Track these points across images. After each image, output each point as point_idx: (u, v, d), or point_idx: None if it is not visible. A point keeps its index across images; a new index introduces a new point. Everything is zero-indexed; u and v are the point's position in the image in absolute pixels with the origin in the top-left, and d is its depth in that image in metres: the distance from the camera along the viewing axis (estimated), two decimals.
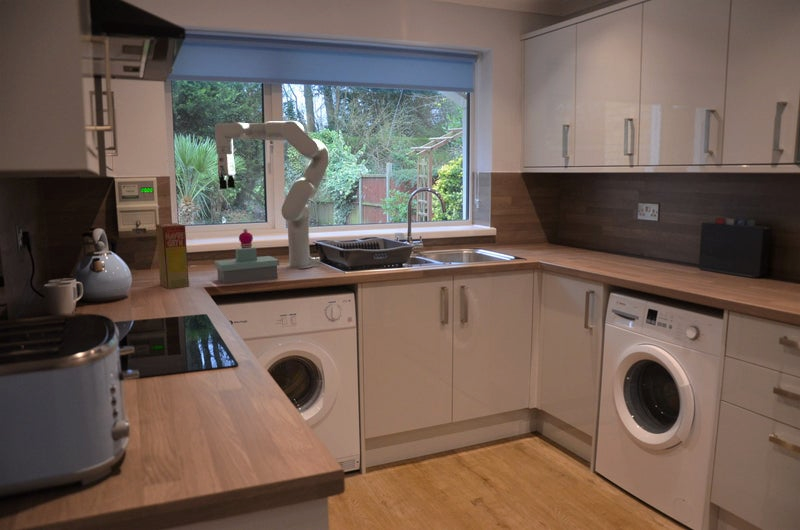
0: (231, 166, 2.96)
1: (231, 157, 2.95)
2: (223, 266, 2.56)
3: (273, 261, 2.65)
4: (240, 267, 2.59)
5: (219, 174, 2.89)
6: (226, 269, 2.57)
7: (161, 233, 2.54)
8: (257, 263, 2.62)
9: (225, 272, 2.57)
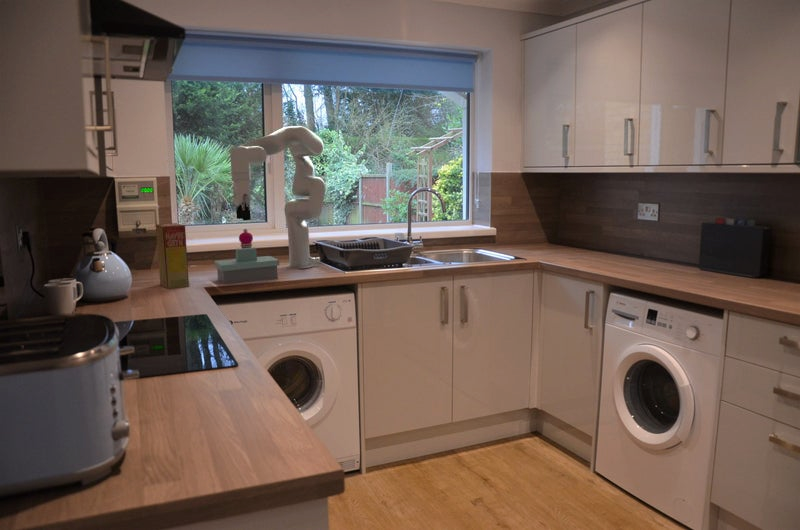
0: (235, 194, 2.61)
1: (234, 185, 2.60)
2: (223, 266, 2.56)
3: (273, 261, 2.65)
4: (240, 267, 2.59)
5: None
6: (226, 269, 2.57)
7: (161, 233, 2.54)
8: (257, 263, 2.62)
9: (225, 272, 2.57)
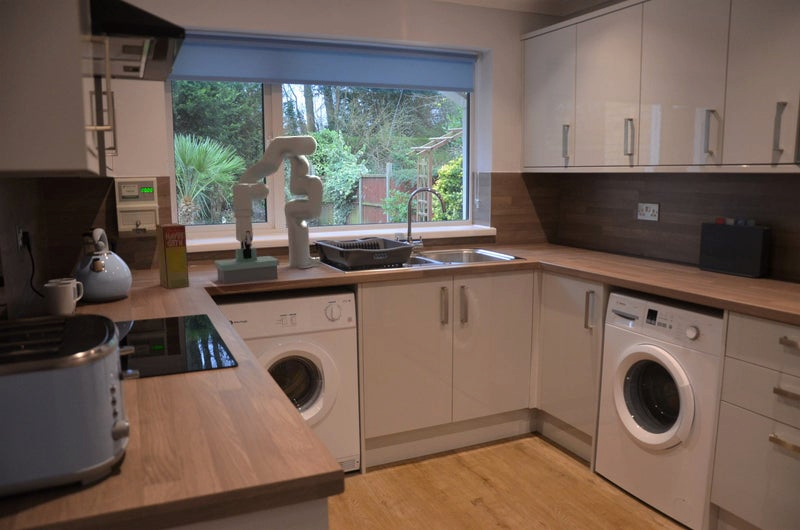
0: (237, 231, 2.64)
1: (237, 221, 2.63)
2: (223, 266, 2.56)
3: (273, 261, 2.65)
4: (240, 267, 2.59)
5: None
6: (226, 269, 2.57)
7: (161, 233, 2.54)
8: (257, 263, 2.62)
9: (225, 272, 2.57)
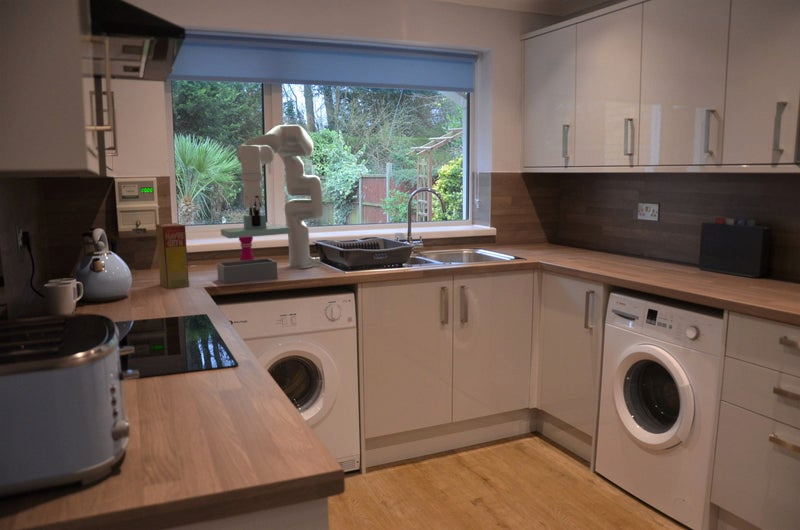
0: (245, 196, 2.46)
1: (245, 186, 2.45)
2: (230, 233, 2.38)
3: (284, 229, 2.48)
4: (249, 235, 2.42)
5: None
6: (233, 236, 2.39)
7: (161, 233, 2.54)
8: (267, 230, 2.45)
9: (225, 272, 2.57)
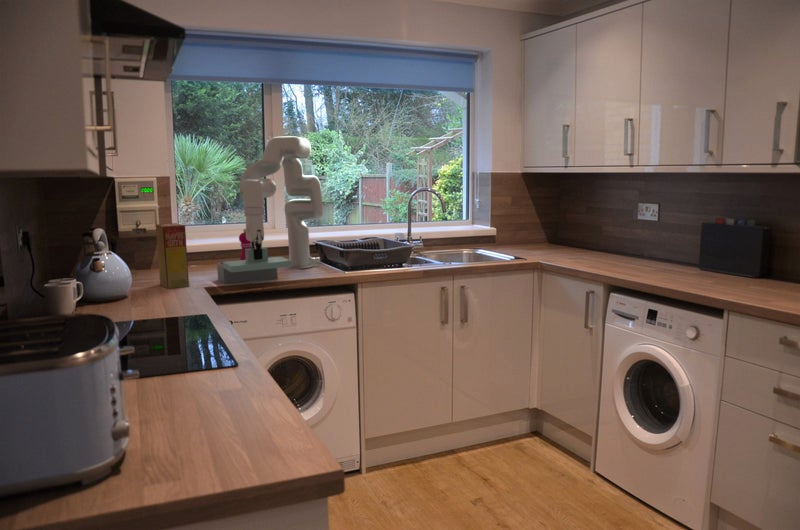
0: (248, 230, 2.48)
1: (247, 220, 2.48)
2: (232, 267, 2.40)
3: (285, 262, 2.50)
4: (251, 268, 2.44)
5: None
6: (236, 270, 2.41)
7: (161, 233, 2.54)
8: (268, 264, 2.47)
9: (225, 272, 2.57)
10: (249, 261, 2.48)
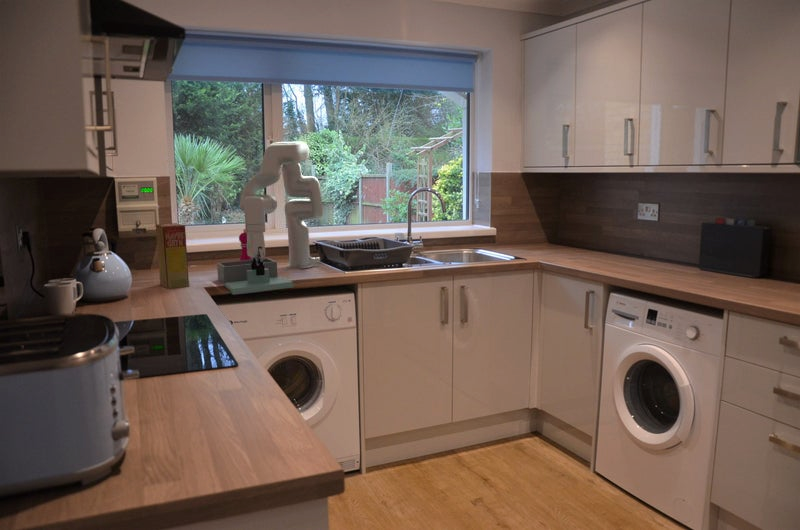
0: (249, 246, 2.49)
1: (248, 236, 2.49)
2: (234, 289, 2.42)
3: (287, 283, 2.51)
4: (253, 290, 2.45)
5: None
6: (237, 292, 2.43)
7: (161, 233, 2.54)
8: (270, 285, 2.48)
9: (225, 272, 2.57)
10: (251, 282, 2.50)
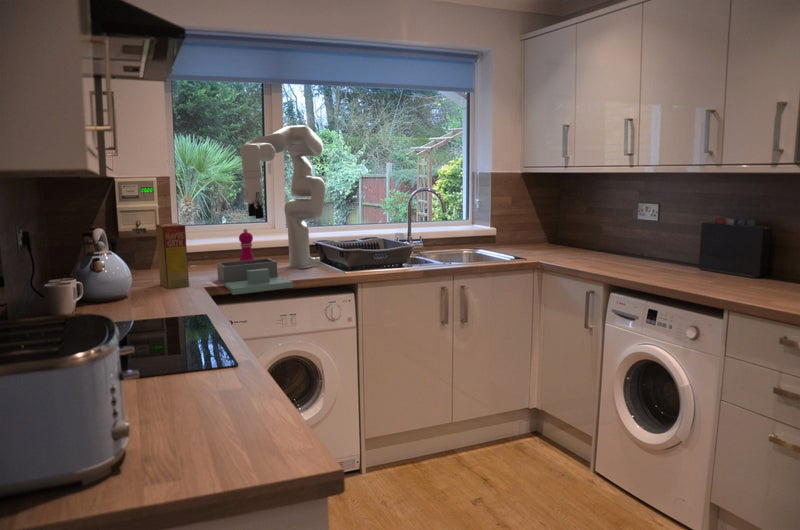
0: (247, 193, 2.60)
1: (246, 183, 2.59)
2: (234, 289, 2.42)
3: (287, 283, 2.51)
4: (253, 290, 2.45)
5: None
6: (237, 292, 2.43)
7: (161, 233, 2.54)
8: (270, 285, 2.48)
9: (225, 272, 2.57)
10: (251, 282, 2.50)
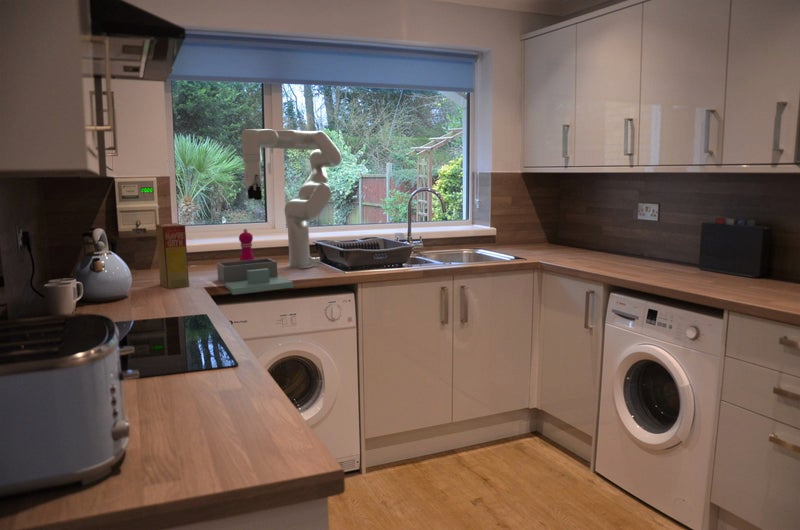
0: (246, 175, 2.73)
1: (246, 166, 2.72)
2: (234, 289, 2.42)
3: (287, 283, 2.51)
4: (253, 290, 2.45)
5: None
6: (237, 292, 2.43)
7: (161, 233, 2.54)
8: (270, 285, 2.48)
9: (225, 272, 2.57)
10: (251, 282, 2.50)
